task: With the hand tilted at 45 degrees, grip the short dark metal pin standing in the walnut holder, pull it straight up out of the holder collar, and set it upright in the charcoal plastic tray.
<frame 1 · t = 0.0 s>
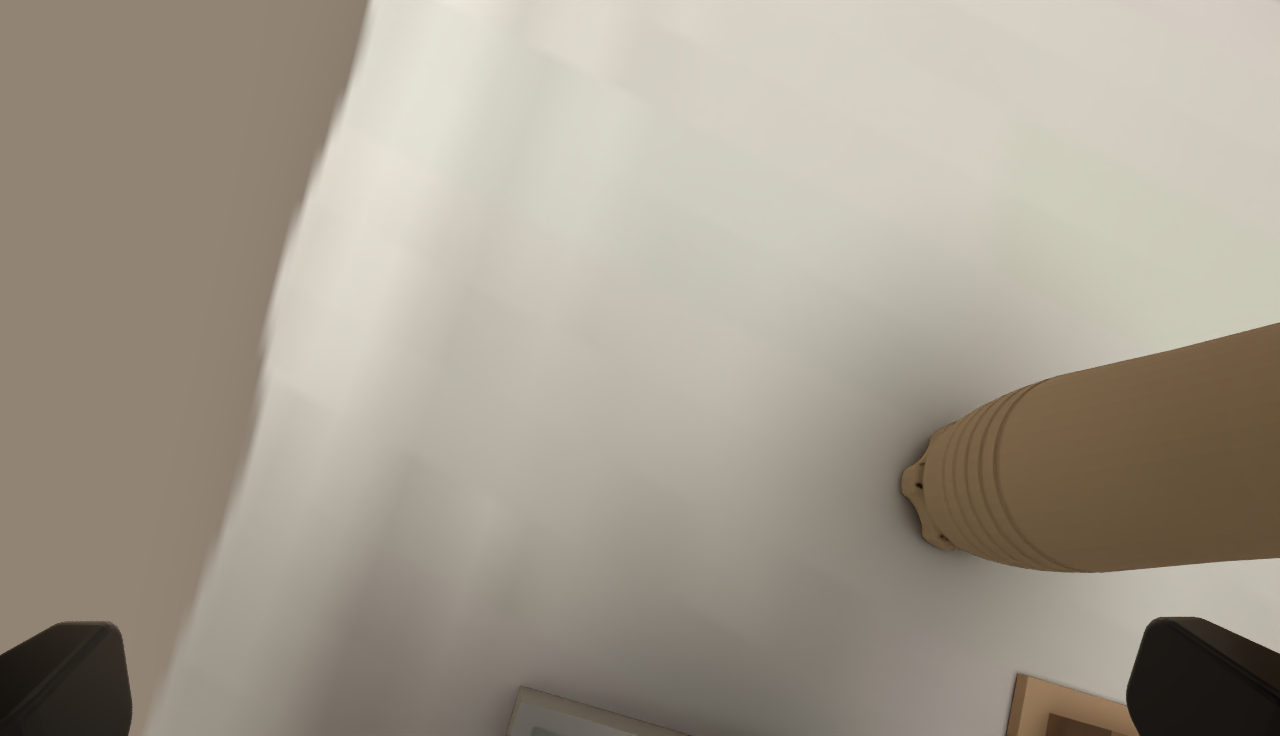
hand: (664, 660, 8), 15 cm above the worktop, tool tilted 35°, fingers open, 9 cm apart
handle: (952, 492, 25), on the worktop
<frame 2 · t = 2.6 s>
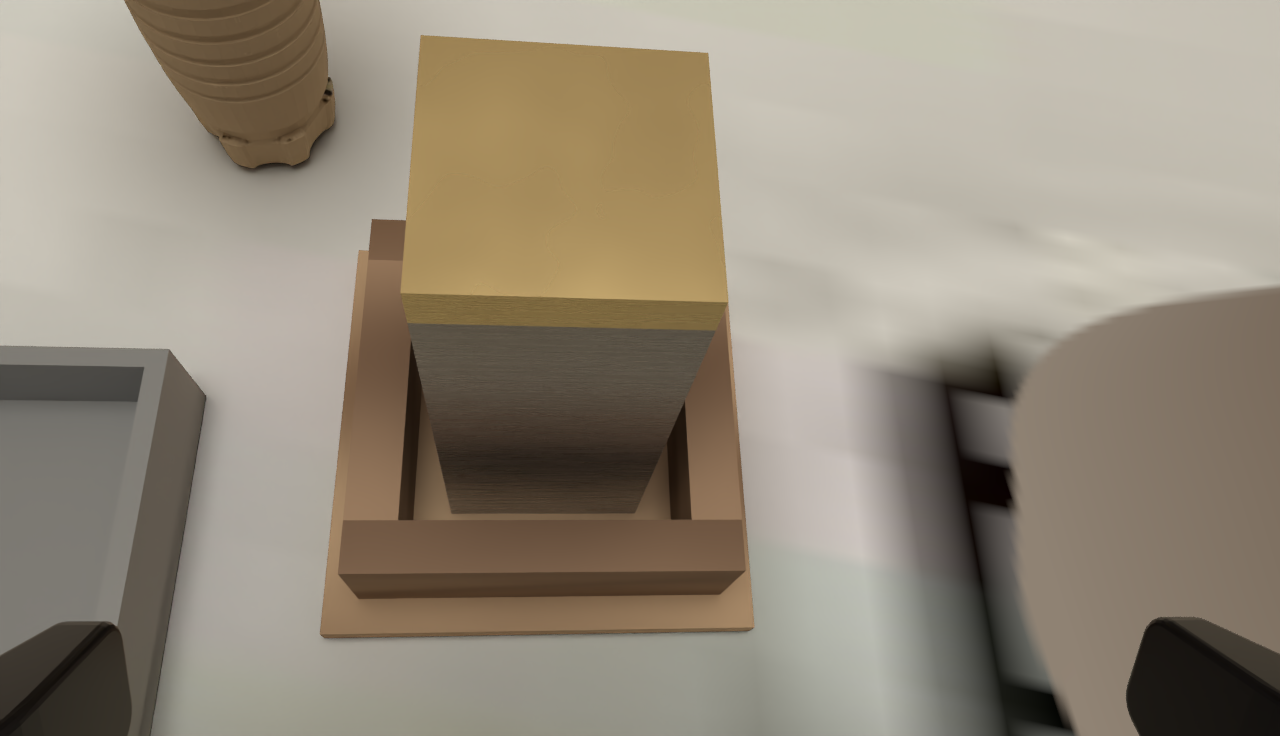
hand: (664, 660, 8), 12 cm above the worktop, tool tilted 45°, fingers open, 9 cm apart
handle: (275, 129, 24), on the worktop
holder: (544, 435, 22), on the worktop
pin: (544, 427, 21), resting on holder
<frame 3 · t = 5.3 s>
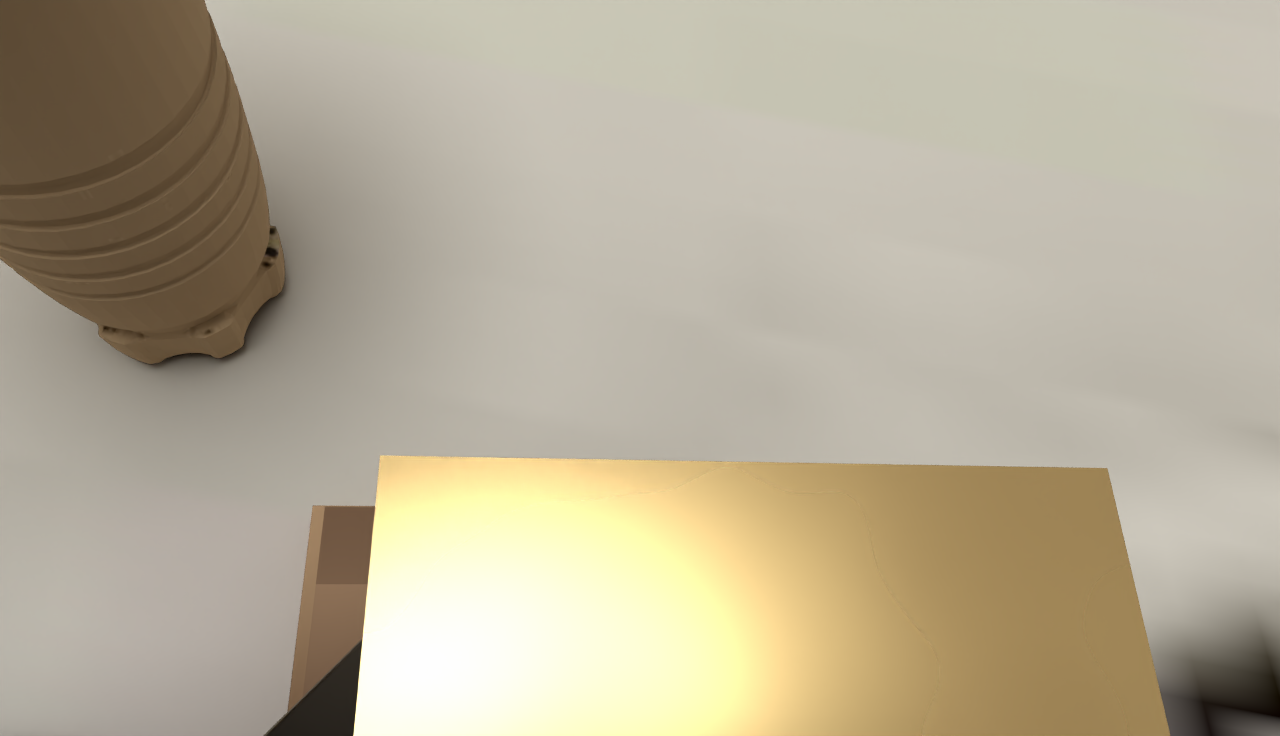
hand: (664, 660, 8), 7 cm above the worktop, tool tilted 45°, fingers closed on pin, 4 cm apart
handle: (196, 294, 17), on the worktop
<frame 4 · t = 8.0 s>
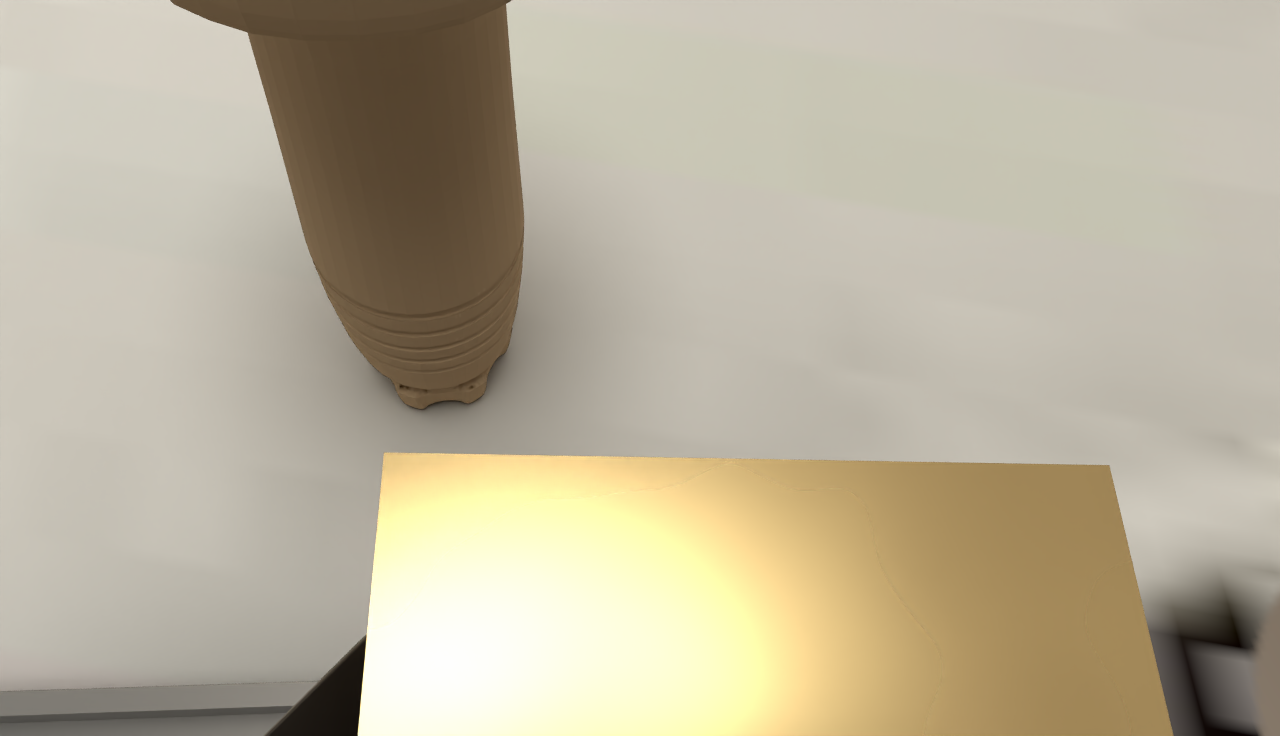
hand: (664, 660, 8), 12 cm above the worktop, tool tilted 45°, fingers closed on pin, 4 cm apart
handle: (440, 355, 22), on the worktop
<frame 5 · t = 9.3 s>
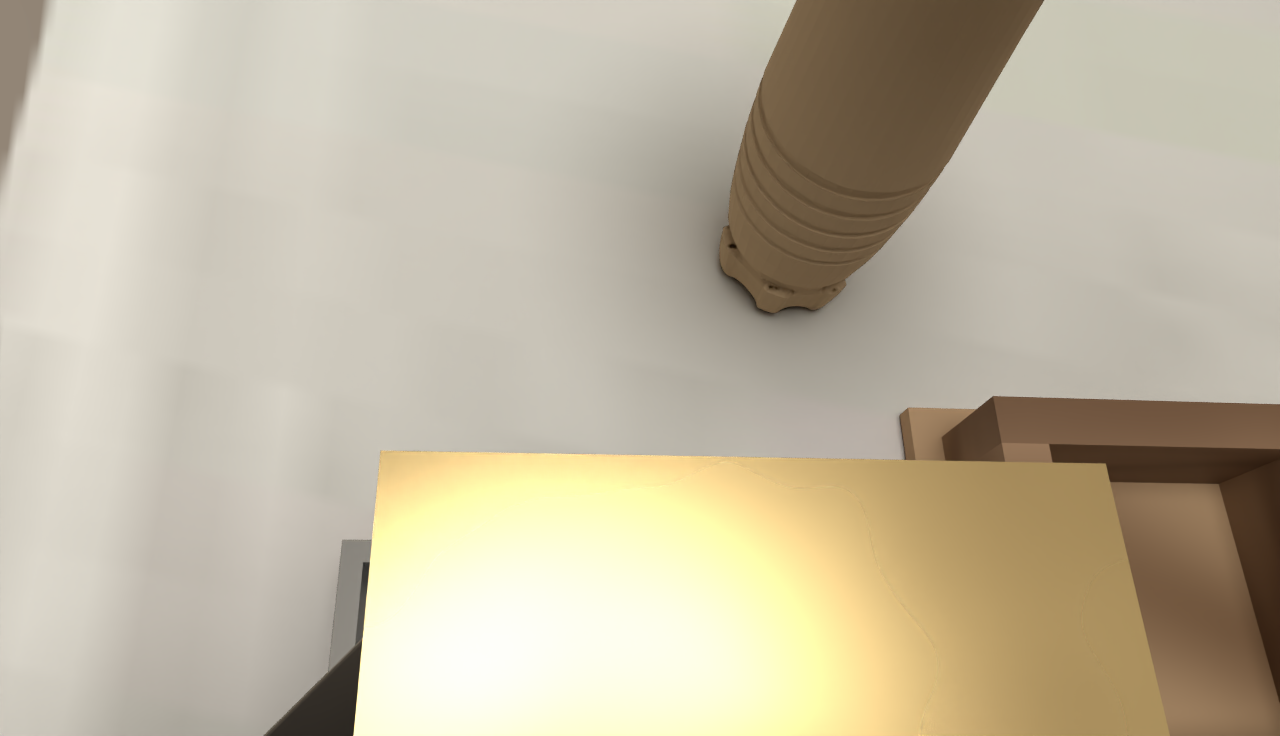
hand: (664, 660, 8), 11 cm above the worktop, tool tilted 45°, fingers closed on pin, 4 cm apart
handle: (777, 266, 23), on the worktop
holder: (1121, 610, 21), on the worktop
when the fingers open (8 cm above the worktop, at t = 10.6 s): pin drops 1 cm, resting on tray.
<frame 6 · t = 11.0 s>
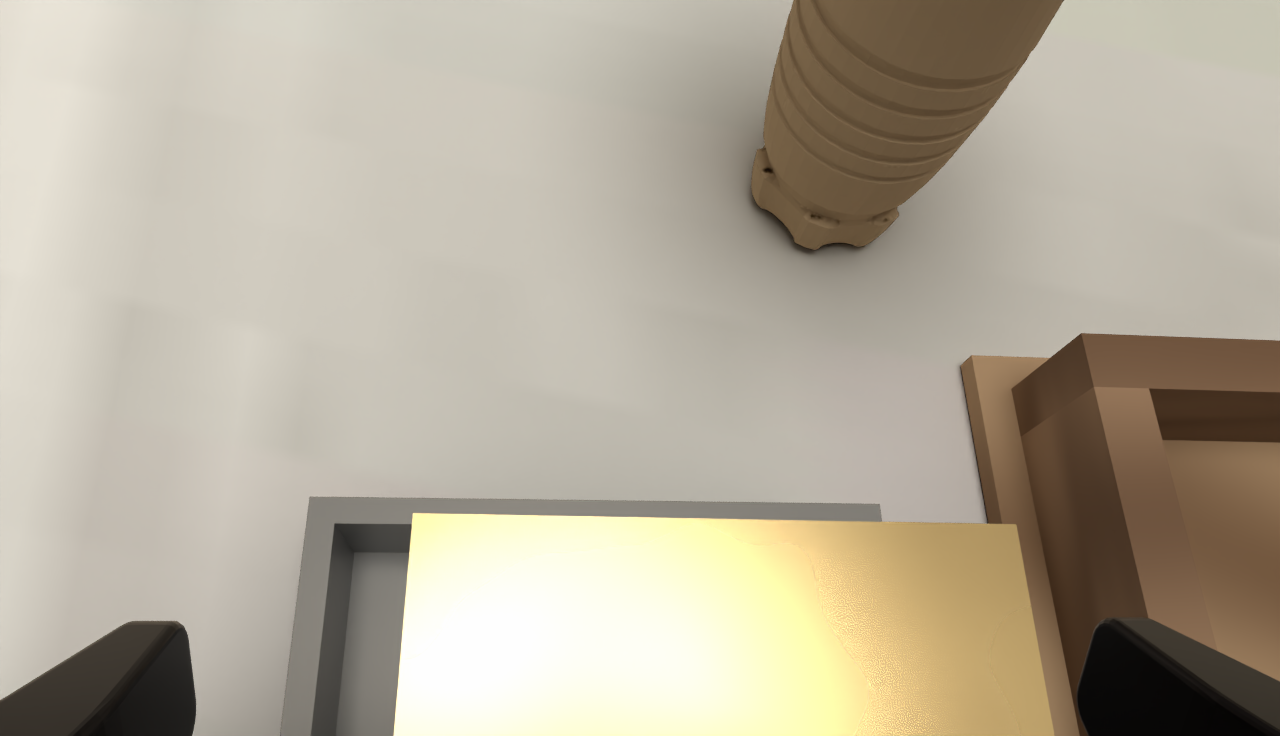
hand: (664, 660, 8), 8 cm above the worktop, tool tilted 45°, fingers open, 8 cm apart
handle: (816, 200, 21), on the worktop
holder: (1223, 588, 18), on the worktop
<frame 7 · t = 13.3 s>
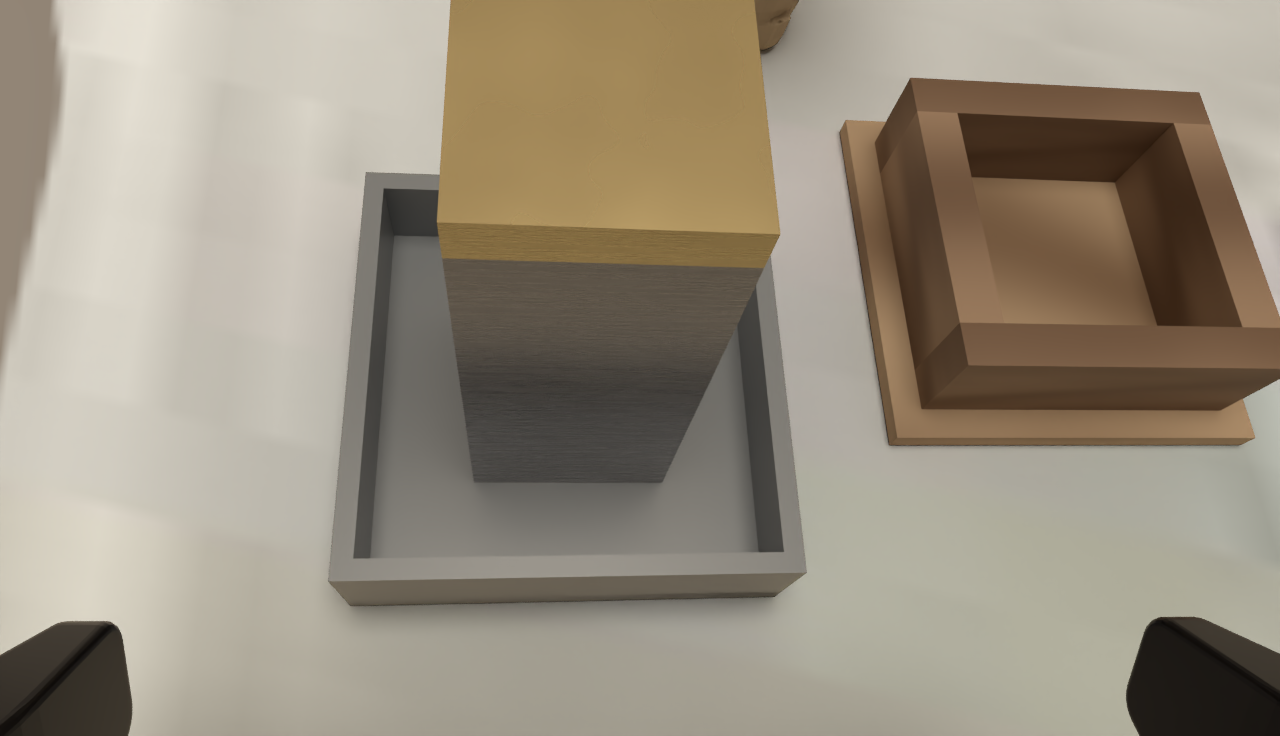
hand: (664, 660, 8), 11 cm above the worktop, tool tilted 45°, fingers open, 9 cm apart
handle: (733, 20, 27), on the worktop
holder: (1029, 280, 24), on the worktop
tray: (566, 405, 21), on the worktop
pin: (568, 395, 21), point 1 cm above the worktop, touching tray
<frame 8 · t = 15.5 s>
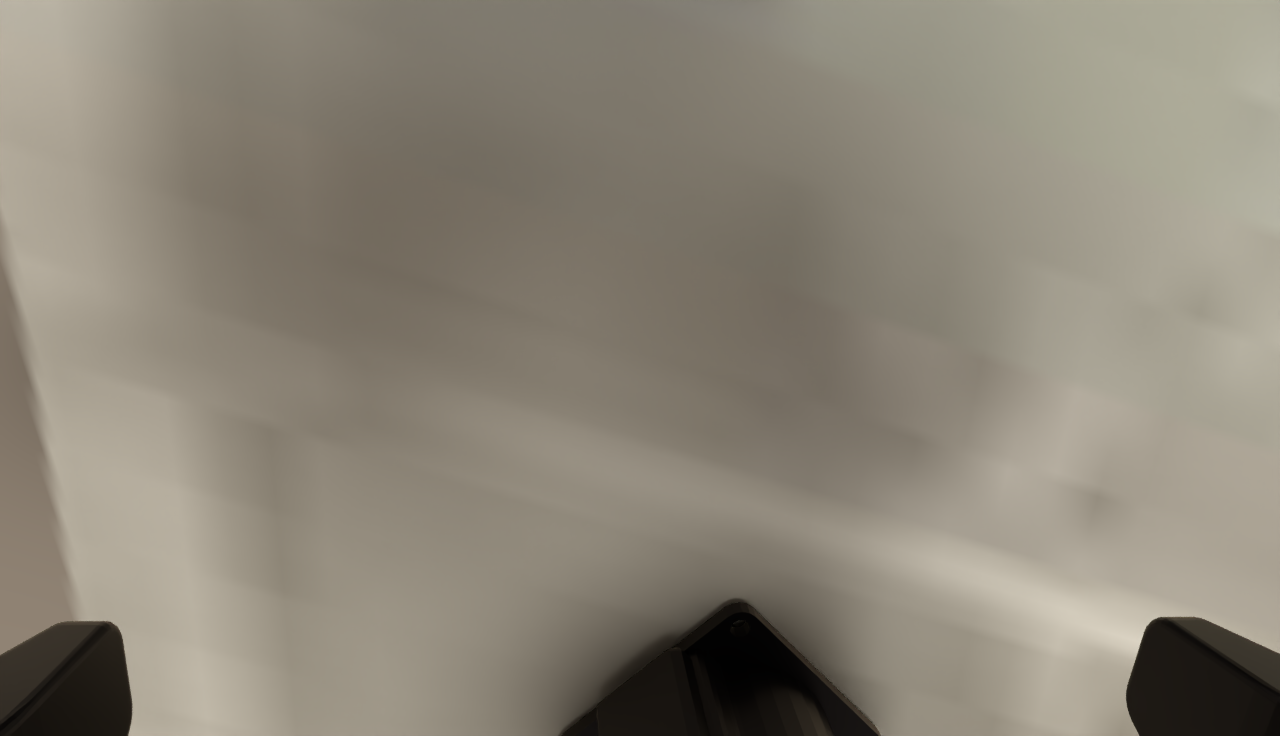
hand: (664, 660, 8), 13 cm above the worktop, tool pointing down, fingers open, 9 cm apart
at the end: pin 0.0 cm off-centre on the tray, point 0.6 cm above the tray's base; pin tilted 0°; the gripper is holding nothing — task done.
